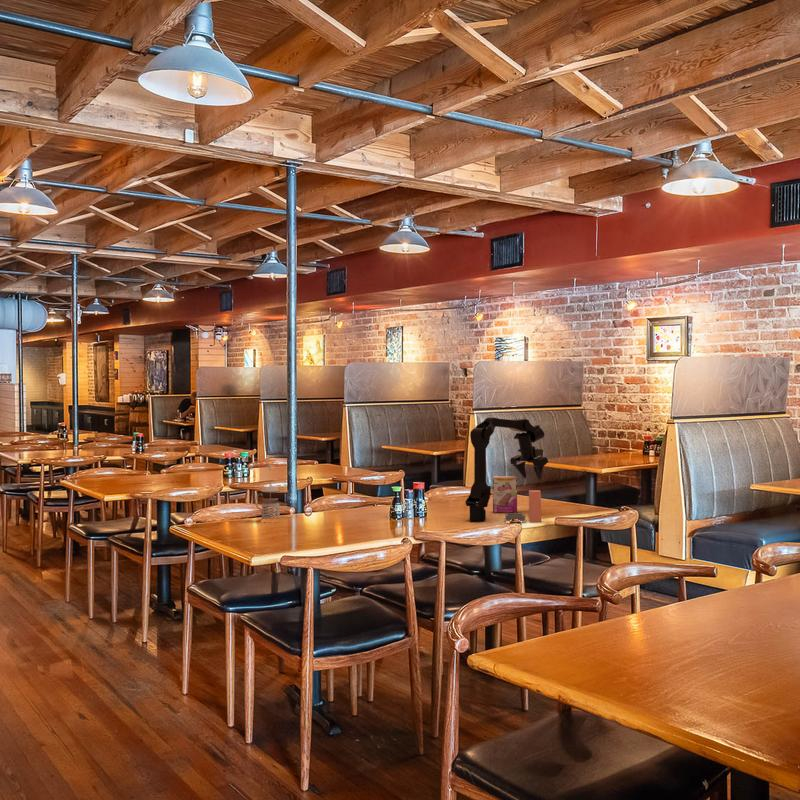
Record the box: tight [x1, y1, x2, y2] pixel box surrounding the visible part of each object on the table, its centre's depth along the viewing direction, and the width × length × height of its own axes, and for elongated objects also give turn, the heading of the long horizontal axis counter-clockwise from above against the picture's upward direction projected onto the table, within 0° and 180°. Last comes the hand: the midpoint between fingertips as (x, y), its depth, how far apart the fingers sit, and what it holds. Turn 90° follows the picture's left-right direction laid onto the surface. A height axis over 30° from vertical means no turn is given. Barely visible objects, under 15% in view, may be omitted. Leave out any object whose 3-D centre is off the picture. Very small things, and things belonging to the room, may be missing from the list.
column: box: [528, 489, 542, 523], centre depth 353 cm, size 4×4×13 cm
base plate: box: [504, 512, 527, 524], centre depth 354 cm, size 8×8×3 cm
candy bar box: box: [492, 475, 518, 514], centre depth 381 cm, size 11×5×16 cm, turn 84°
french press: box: [254, 464, 281, 520], centre depth 369 cm, size 10×12×25 cm
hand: (532, 478), depth 378 cm, fingers open, 9 cm apart
